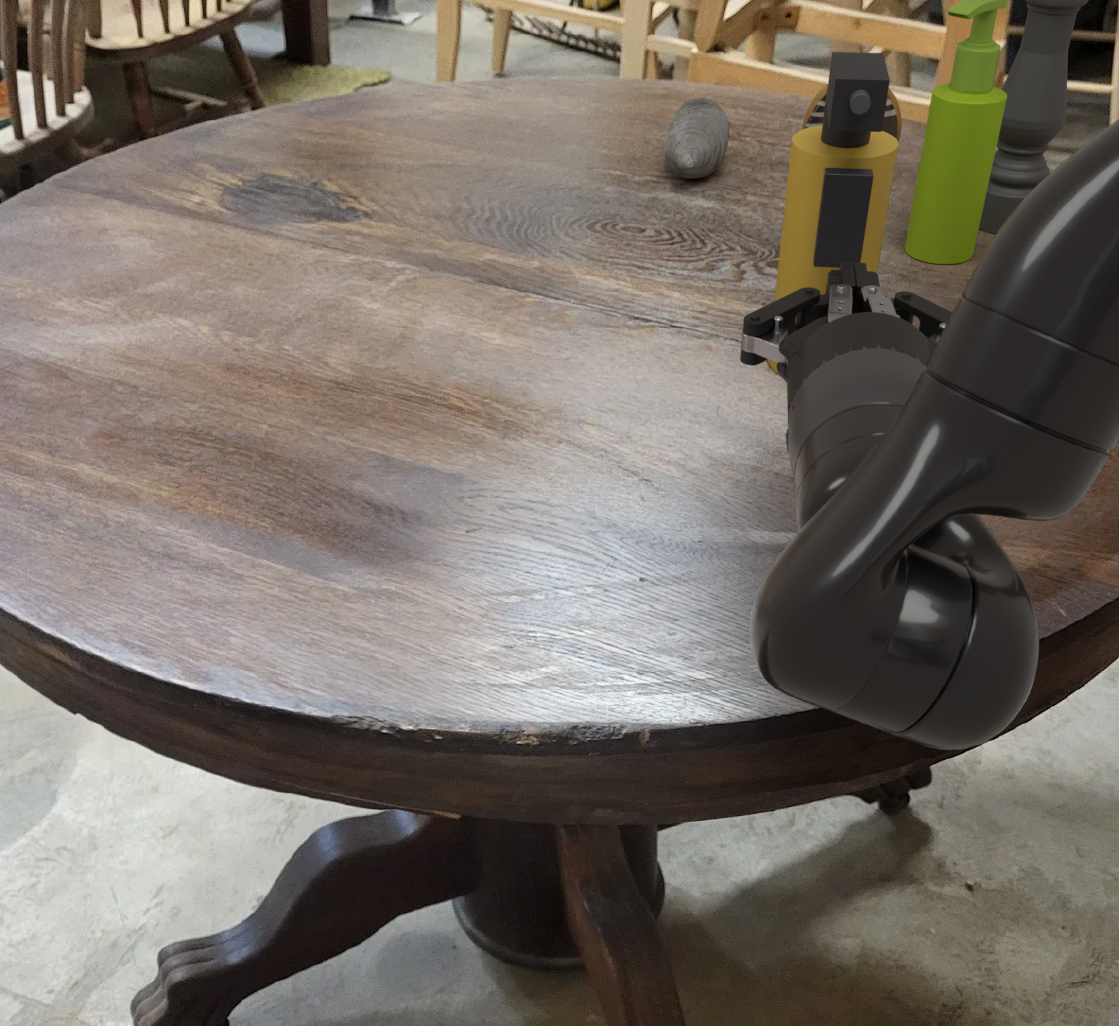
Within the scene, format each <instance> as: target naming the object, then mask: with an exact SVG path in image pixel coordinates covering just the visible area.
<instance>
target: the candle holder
mask: <svg viewBox="0 0 1119 1026" xmlns="http://www.w3.org/2000/svg"><path fill="white" fill-rule="evenodd" d="M1024 2H1025V3H1026V8H1027V10H1028V11H1027V14H1026V18H1025V24H1024V28H1023V33H1022V37H1021V40H1020V41H1021V42H1020V46H1019V49H1018V50H1017V53H1016V56H1015V58H1014V60H1013V63H1012V65H1011V67H1010V69H1009V72H1008V74H1007V76H1006V79H1005V81H1004V84H1003V85H1002V88H1001V90H1003V91H1004V92H1006V94H1007V100H1006V104H1005V109H1004V114H1003V118H1002V123H1001V128H1000V132H999V137H998V142H997V146H996V148H997V150H996V151H995V156H994V160H993V165H992V169H991V174H990V179H989V183H988V188H987V193H986V197H985V202H984V207H983V211H982V216H981V221H980V225H979V230H982V231H983V232H987V233H989V234H990V233H991V234H995V235H996V234H997V232H998V231H999V229H1000V228H1001V227H1002V225H1003V224H1004V222H1005V221H1006V220H1007V218H1008V217H1009V216H1010V215H1011V214H1012V212H1013V211H1014V210H1015V209H1016V208H1017V207H1018V205H1019V204H1020V203H1021V202H1022V201H1023V200H1024V198H1025V197H1026V196H1027V195H1028V194H1029V193H1030V192H1031V191H1032V190H1033V189H1034V188H1035V187H1036V186H1037V185H1038V184H1039V183H1040V182H1041V181H1042V180H1043V179H1044V178H1045V177H1047V176H1048V175H1049V174H1050V173H1051V172H1050V168H1049V166H1048V164H1047V161H1046V158H1045V156H1044V153H1046V151H1047V150H1048V149H1049V145H1048V144H1049V143H1051V142H1052V141H1053V140H1054V139H1055V137H1056V136H1057V135H1058V134H1059V133H1060V131H1061V130H1062V128H1063V126H1064V124H1065V122H1066V118H1067V116H1068V115H1067V114H1068V113H1067V112H1068V69H1069V68H1068V63H1069V61H1068V59H1069V47H1070V44H1071V39H1072V37H1073V36H1072V35H1073V31H1074V26H1075V23H1076V20H1077V15H1078V12H1079V11H1080V10H1081V8H1082V7H1083V6H1085V5H1086V4H1087V3H1088V2H1089V0H1024Z"/></svg>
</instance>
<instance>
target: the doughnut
mask: <svg viewBox="0 0 1119 1026" xmlns="http://www.w3.org/2000/svg"><path fill="white" fill-rule="evenodd" d="M827 89H828V83H827V84H826V85H825V86H823V87H822V88H821V89H820V90H819V91H818V92H817V93H816V95H815V96H814V97H813V99H812V100H811V102H810V104H809V106H808V108H807V110H806V113H805V115H804V119H803V123H802V130H803V129H806V128H810V127H814V126H821V125H823V117H824V109H825V101H826V93H827ZM902 125H903V123H902V112H901V109H900V105H899V102H898V99H897V97H896V95H895V93H893V91H892V90H891V89H890V88H889V89H888V96H887V102H886V109H885V115H884V122H883V128H882V131H883V132H886V133H888V134H890V135H892V136H893V137H895V138H896V139H897V141H898V144H899V142H900V139H901V135H902V128H903V126H902Z"/></svg>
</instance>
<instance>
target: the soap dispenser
mask: <svg viewBox="0 0 1119 1026" xmlns="http://www.w3.org/2000/svg"><path fill="white" fill-rule="evenodd" d="M1008 2H1009V0H961V1H959V2H957V3H955V4H953V6H951V7H950V8H949V9H948V10H947V14H948V16H951V17H955V18H960V19H964V20H971V19H972V22H971V28H970V33H969V37H967V38H965V39H964V40H962V41H959V42H958V43H957V45H956V49H955V54H954V59H953V65H952V70H951V76H950V82H949V83H944V84H941V85H937V86H935V87H934V88H933V89H932V93H931V98H930V104H929V108H928V109H929V110H928V114H927V120H926V125H925V126H926V127H925V132H924V137H923V143H922V149H921V155H920V158H919V159H920V160H919V165H918V171H917V176H916V183H915V188H914V194H913V199H912V200H913V201H912V205H911V211H910V217H909V222H908V228H907V233H906V239H905V245H904V252H905V253H906V254H907V255H908V256H910V257H911V258H913V259H914V260H916V261H917V260H918V261H920V262H923V263H928V264H934V265H955V264H956V265H957V264H961V263H965V262H968V261H969V260H970V259H972V258H973V256H974V253H975V248H976V243H977V239H978V234H979V230H980V229H979V225H980V221H981V216H982V211H983V207H984V202H985V197H986V193H987V188H988V183H989V179H990V174H991V169H992V165H993V160H994V156H995V153H996V152H997V142H998V137H999V132H1000V128H1001V123H1002V118H1003V114H1004V109H1005V104H1006V100H1007V94H1006V92H1004V91H1003V90H1002V88H999V87H996V86H994V83H995V79H996V74H997V69H998V64H999V58H1000V55H1001V50H1002V49H1001V48H1002V47H1001V45H1000V44H999V43H997V42H996V40H995V39H993V34H994V29H995V24H996V19H997V15H998V10H999V9H1004V8H1007V7H1008Z"/></svg>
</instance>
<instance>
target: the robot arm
mask: <svg viewBox="0 0 1119 1026" xmlns="http://www.w3.org/2000/svg"><path fill="white" fill-rule="evenodd" d="M880 285H881V284H880V279H879V274H876V273H875V272H874V271H867V267H866V263H853V262H841V263H840V268H839V270H831V271H830V272H829V273H828V279H827V286H826V293H825V294H822V295H820V291H819V290H818V289H816V288H811V287H805V288H801V289H799V290H797V291H795V292H793V293H791V294H789V295H787V296H785V297H783V298H781V299H779V300H776V301H774V300H773V301H772V302H770V303H768V304H767V305H764V306H762V307H760V308H758V309H756V310H754V311H752V312H750V313H748V314H746V315H744V317H743V325H742V331H741V340H740V342H741V343H740V355H739V356H740V357H739V361H740V363H741V364H744V365H746V366H759V365H760V364H763V363H764V362H766V361H768V359H770V360H772V361H775V362H777V371H778V374H777V375H778V376H779V377H780V378H781V379H782V380H784V381H785V383H786V395H787V396H786V399H787V401H786V402H787V429H786V432H785V443H786V450H787V453H788V457H789V465H790V468H791V473H792V476H793V479H794V504H795V527H796V534H795V535H794V536H793V537H792V538H791V540H790V541H789V542H788V543H787V544H786V546H785V547H784V549H783V550H782V551H781V552H780V553H779V555H778V556H777V557H776V558H775V559H774V561H773V563H772V564H771V566H770V567H769V569H768V570H767V572H766V573H765V575H764V577H763V579H762V581H761V583H760V585H759V587H758V589H757V592H756V595H755V597H754V600H753V604H752V608H751V611H750V617H749V628H748V633H749V646H750V651H751V655H752V658H753V659H752V660H753V662H754V664H755V666H756V669H757V671H758V672H759V674H760V675H761V677H762V678H763V679H764V680H765V682H767V684H769V685H770V686H771V687H772V688H774V689H776V690H777V691H779V692H781V693H782V694H784V695H786V696H789V697H790V698H793V699H796V700H799V701H801V702H803V703H807V704H809V705H812V706H815V707H817V708H820V709H823V710H826V711H829V712H831V713H834V714H837V715H840V716H842V717H844V718H848V719H850V720H854V721H856V722H858V723H861V724H863V725H866V726H869V727H871V728H874V729H876V730H879V731H883V732H885V733H889V734H890V735H892V736H895V737H898V738H901V739H903V740H906V741H909V742H912V743H914V744H918V745H921V746H922V747H923V746H924V747H927V748H932V749H937V750H945V751H952V750H953V751H954V750H955V751H956V750H965V749H966V750H967V749H970V748H972V747H975V746H979V745H981V744H984V743H986V742H988V741H989V740H991V739H993V738H994V737H996V736H997V735H998V734H1000V733H1001V732H1002V731H1004V730H1005V729H1006V728H1007V727H1008V726H1009V725H1010V724H1011V723H1012V722H1013V721H1014V719H1016V717H1017V715H1018V714H1019V713H1020V711H1021V710H1022V709H1023V707H1024V705H1025V703H1026V702H1027V700H1028V698H1029V696H1030V694H1031V691H1032V689H1033V685H1034V681H1035V679H1036V673H1037V668H1038V664H1039V656H1040V655H1039V654H1040V635H1039V634H1040V632H1039V627H1038V619H1037V614H1036V610H1035V606H1034V603H1033V599H1032V597H1031V595H1030V593H1029V589H1028V587H1027V585H1026V584H1025V581H1024V580H1023V578H1022V576H1021V574H1020V573H1019V571H1018V569H1017V567H1016V566H1015V564H1014V562H1013V561H1012V560H1011V558H1010V557H1009V555H1008V554H1007V552H1006V551H1005V550H1004V548H1003V547H1002V546H1001V544H1000V543H999V541H998V539H997V538H996V537H995V536H994V534H993V533H992V531H991V530H990V529H989V527H988V526H987V524H986V523H985V522H984V520H983V519H982V517H981V516H980V515H982V516H993V517H1000V518H1006V519H1012V520H1013V519H1014V520H1019V521H1020V520H1021V521H1029V522H1031V521H1032V522H1048V521H1055V520H1059V519H1060V518H1063V517H1064V516H1066V515H1068V514H1069V513H1070V512H1072V511H1073V510H1074V509H1075V508H1076V507H1077V506H1078V505H1079V503H1081V501H1082V500H1083V498H1084V497H1085V495H1086V494H1087V493H1088V492H1089V490H1090V489H1091V487H1092V485H1093V483H1094V482H1095V481H1096V479H1097V478H1098V476H1099V475H1100V473H1101V471H1102V469H1103V467H1104V465H1105V464H1106V462H1107V460H1108V458H1109V457H1110V451H1114V449H1115V447H1116V445H1117V444H1118V442H1119V118H1118V119H1116V120H1115V121H1114V122H1112V123H1110V125H1108V126H1107V127H1106V128H1104V129H1103V130H1102V131H1101V132H1099V133H1098V134H1097V135H1095V136H1094V137H1093V138H1092V139H1090V140H1089V141H1088V142H1087V143H1085V144H1084V145H1083V146H1082V147H1080V148H1079V149H1077V150H1076V151H1075V152H1074V153H1072V154H1071V155H1070V156H1069V157H1067V158H1066V159H1065V160H1064V161H1062V162H1061V163H1060V164H1059V165H1058V166H1056V167H1055V168H1054V169H1053V170H1052V171H1051V172H1050V174H1049V175H1048V176H1047V177H1045V178H1044V179H1043V180H1042V181H1041V182H1040V183H1039V184H1038V185H1037V186H1036V187H1035V188H1034V189H1033V190H1032V191H1031V192H1030V193H1029V194H1028V195H1027V196H1026V197H1025V198H1024V200H1023V201H1022V202H1021V203H1020V204H1019V205H1018V207H1017V208H1016V209H1015V210H1014V211H1013V212H1012V214H1011V215H1010V216H1009V217H1008V218H1007V220H1006V221H1005V222H1004V224H1003V225H1002V227H1001V228H1000V229H999V231H998V232H997V234H995V235H994V236H993V238H992V239H991V241H990V242H989V244H988V246H987V247H986V249H985V251H984V253H983V254H982V255H981V257H980V259H979V260H978V262H977V264H976V265H975V268H974V269H973V271H972V273H971V275H970V277H969V279H968V281H967V283H966V285H965V287H964V288H963V291H962V293H961V297H959V298H958V300H957V303H956V304H955V306H954V309H953V310H952V311H950V310H948V309H946V308H944V307H942V306H940V305H938V304H936V303H934V302H932V301H930V300H928V299H926V298H924V297H922V296H920V295H918V294H916V293H914V292H911V291H897V292H896V293H895V294H894V297H890V296H887V295H886V294H885V291H884V289H883V288H882V287H881V286H880ZM915 317H916V318H918V320H919V327H916V326H915V325H913V323H914V319H915ZM795 319H796V322H795Z"/></svg>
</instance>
